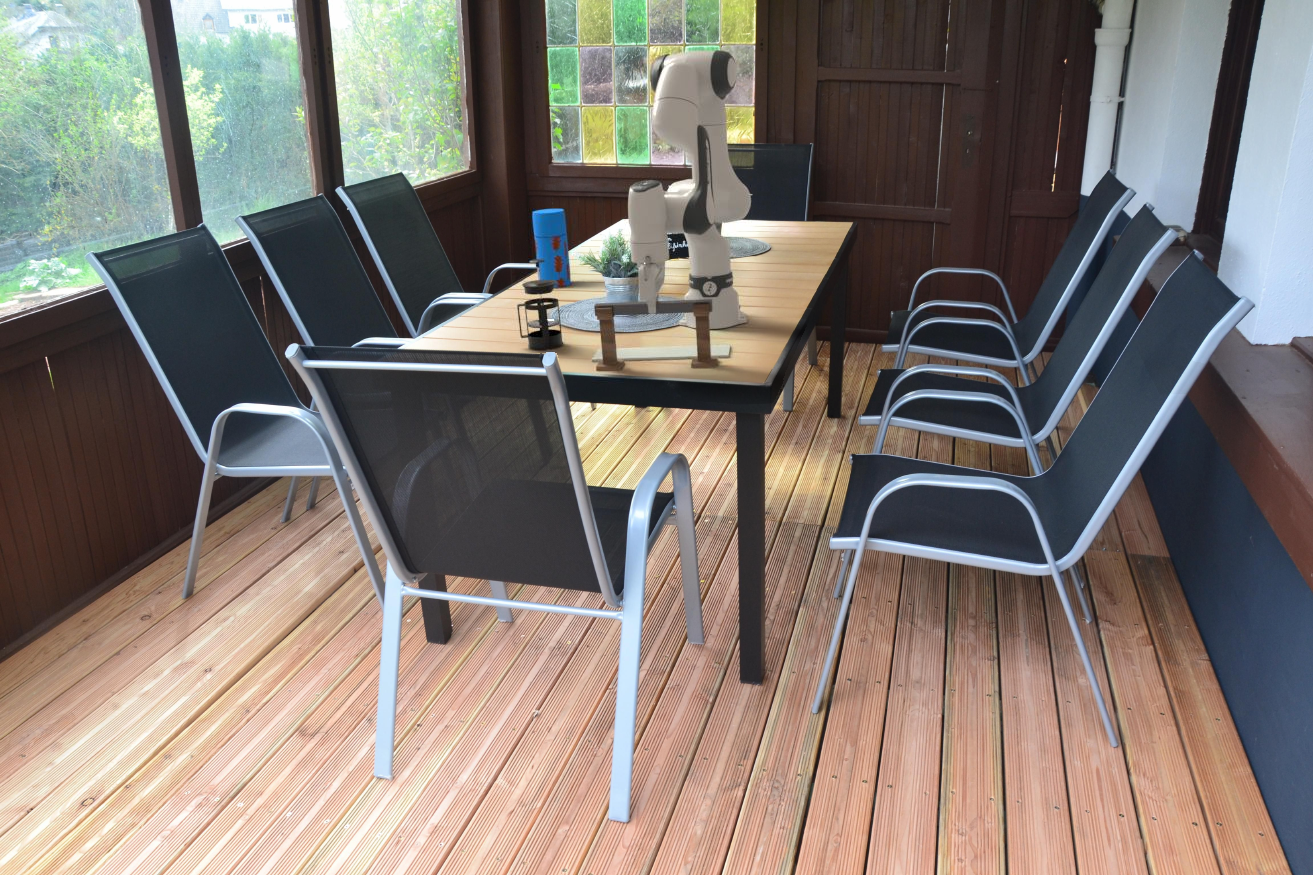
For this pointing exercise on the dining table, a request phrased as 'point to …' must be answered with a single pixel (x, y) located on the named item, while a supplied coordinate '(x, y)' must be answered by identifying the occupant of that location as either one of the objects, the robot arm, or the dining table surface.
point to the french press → (541, 314)
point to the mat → (663, 353)
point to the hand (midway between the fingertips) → (653, 311)
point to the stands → (613, 363)
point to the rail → (662, 306)
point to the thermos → (552, 246)
